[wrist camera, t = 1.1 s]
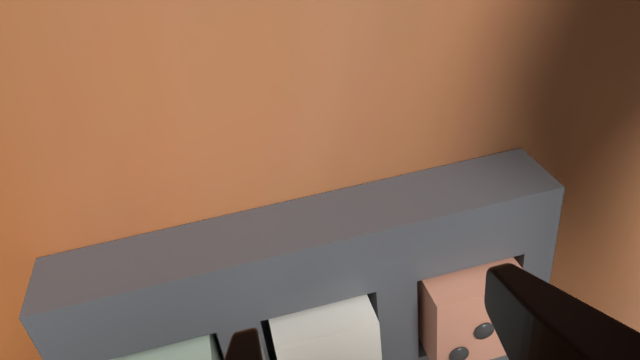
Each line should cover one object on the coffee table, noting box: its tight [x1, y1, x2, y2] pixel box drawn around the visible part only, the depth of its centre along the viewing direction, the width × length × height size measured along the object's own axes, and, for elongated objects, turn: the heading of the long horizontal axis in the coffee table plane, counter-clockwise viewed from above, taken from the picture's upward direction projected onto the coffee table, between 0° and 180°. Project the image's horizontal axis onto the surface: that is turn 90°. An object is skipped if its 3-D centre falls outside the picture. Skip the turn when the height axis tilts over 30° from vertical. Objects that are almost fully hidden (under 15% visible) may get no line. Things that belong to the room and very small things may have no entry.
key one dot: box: [268, 294, 382, 360], centre depth 22 cm, size 4×4×2 cm
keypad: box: [19, 148, 565, 360], centre depth 23 cm, size 19×10×3 cm, turn 96°
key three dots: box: [417, 257, 523, 360], centre depth 23 cm, size 4×4×2 cm
